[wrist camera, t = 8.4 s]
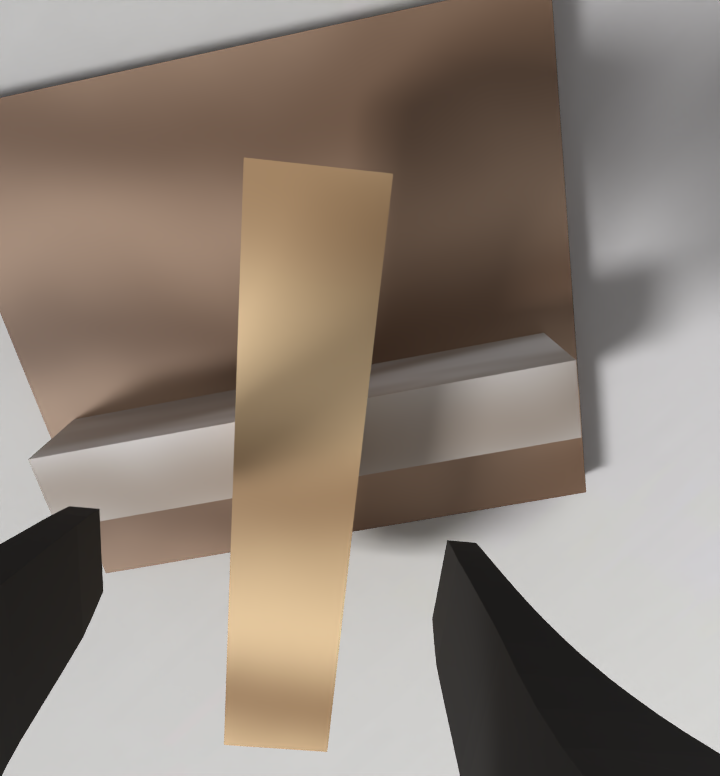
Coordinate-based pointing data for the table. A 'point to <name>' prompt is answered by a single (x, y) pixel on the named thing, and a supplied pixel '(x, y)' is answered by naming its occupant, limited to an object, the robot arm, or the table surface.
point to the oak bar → (298, 438)
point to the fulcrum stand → (222, 268)
